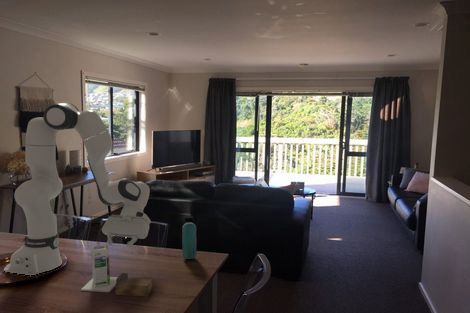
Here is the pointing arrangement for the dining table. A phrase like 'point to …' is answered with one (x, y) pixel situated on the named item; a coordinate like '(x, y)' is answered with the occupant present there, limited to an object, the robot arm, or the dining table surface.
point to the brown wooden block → (132, 286)
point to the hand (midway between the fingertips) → (118, 245)
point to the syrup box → (100, 265)
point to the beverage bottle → (189, 238)
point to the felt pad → (105, 288)
